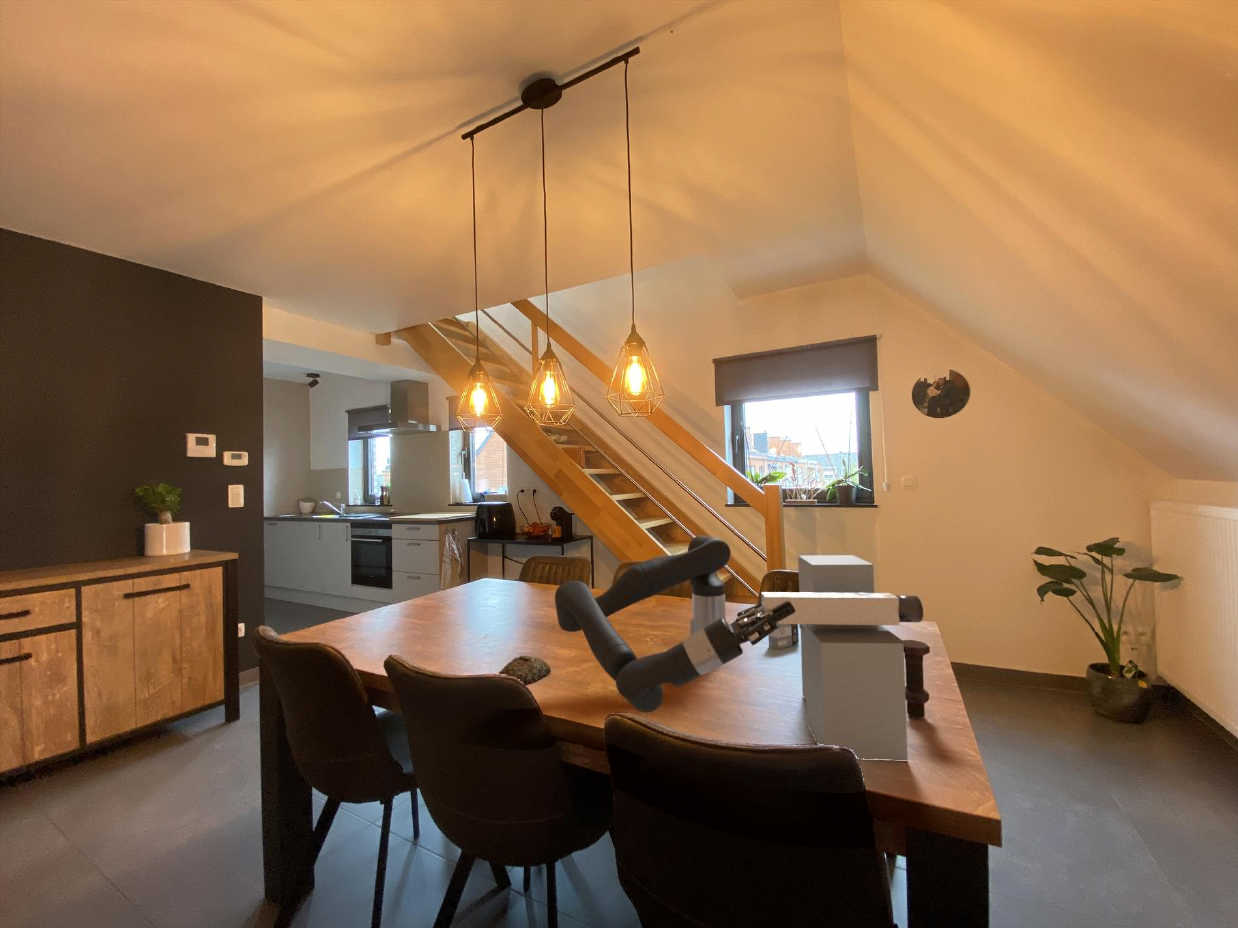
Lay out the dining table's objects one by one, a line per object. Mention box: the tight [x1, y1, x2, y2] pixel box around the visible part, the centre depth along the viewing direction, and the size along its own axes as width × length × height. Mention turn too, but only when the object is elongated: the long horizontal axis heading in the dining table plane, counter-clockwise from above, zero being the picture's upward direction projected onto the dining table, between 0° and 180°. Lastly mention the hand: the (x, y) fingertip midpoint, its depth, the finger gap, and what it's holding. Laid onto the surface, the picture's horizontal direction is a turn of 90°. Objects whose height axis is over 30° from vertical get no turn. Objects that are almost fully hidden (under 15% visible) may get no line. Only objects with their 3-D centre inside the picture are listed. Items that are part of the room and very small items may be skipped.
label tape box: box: [767, 624, 800, 650], centre depth 151 cm, size 9×4×12 cm, turn 120°
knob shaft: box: [760, 591, 924, 626], centre depth 97 cm, size 28×5×5 cm, turn 84°
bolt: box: [901, 639, 931, 720], centre depth 106 cm, size 6×5×15 cm
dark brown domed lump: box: [498, 655, 552, 685], centre depth 134 cm, size 13×12×5 cm
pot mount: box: [797, 554, 908, 761], centre depth 104 cm, size 15×26×32 cm, turn 174°
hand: (789, 603), depth 98 cm, fingers closed on knob shaft, 4 cm apart
